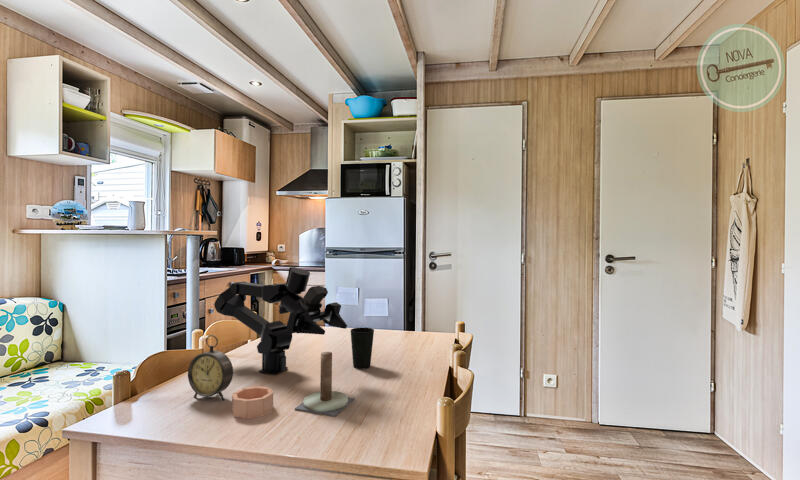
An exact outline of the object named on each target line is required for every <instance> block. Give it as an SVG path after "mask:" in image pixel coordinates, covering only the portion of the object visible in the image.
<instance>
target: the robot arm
mask: <svg viewBox="0 0 800 480" xmlns="http://www.w3.org/2000/svg"><path fill="white" fill-rule="evenodd" d="M310 275H311V272H310V271H309V270H307V269H302V268H297V267H296V266H294V267H293V266H292V267H291V266H290V267H289V268H288V274H287V279H286V282H285V283H283V282H282V283H275V284H273V283H272V284H263V283H262V284H261V283H254V282H253V283H252V282H247V281H237V282H235V281H234V282H232V283H231V284H230V286H229V287H228V288H227V289H226V290H225V289H224V291H222V292H221V293H220V294H219V295H218V297H217V298H216V299H215V301H214V304H213V306H214V309H215V311H216V312H217V313H218V314H220V315H223V316H227V317H231V318H232V317H233V318H234V319H236V320H237V321H239V322H241V324H244V325H245V326H246V327H248V328H249V329H250V330H252V331H253V332H255V333H256V334H257V335H259V337H260V341H259V343H258V344H257V345H256V349H257V354H261V356H262V357H261V358H262V360H261V369H259V370H258V373H262V374H267V375H268V374H269V375H279V374H280V373H283V372H285V371H286V370H288V368H289V367H288V366H287V356H286V351H287V350H290V347H291V344H292V341H293V334H308V335H309V334H311V335H325V334H326V330H325V328H323V327H321V326H320V325H319V324H318V323H317V322H320V321H323V323H324V324H326V325H327V326H329V327H333V328H339V329H345V330H346V329H347V327H348V324H347V323H346V322H345V319H343V317H342V316H341V315H340V312H341V309H342V305H341V304H340V303H338V302H336V301H335V302H330V303H328V304H326V305H325V307H324V311H321V310H322V309H321V308H322V307H323V303H321V302H322V301H323V300H324V299H325V298H326V297H327V295H328V294H329V293H328V292H329V291H328V288H327V287H324V286H322V285H315V286H311V287H309V288H308V290H307V286H308V284H309V283H308V282H309V279H310ZM306 290H307V291H306ZM304 292H305V294H304V296H301V294H302V293H304ZM247 296H249V297H255V298H260V299H262V301H263V302H266V303H268V304H276V303H279V305H278V313H279V314H280V315H283V314H287V313H288V314H289V315H288V319H287V323H286V324H285V323H283V321H280V320H275V321H272V322H271V321H270V322H269V321H268V320H267V319H265V318H264V317H263V316H261V315H260V314H258V313H256V312H255V311H253V310H252V309H250V308H249V307H248V306H246V305H245V301H246V300H247Z"/></svg>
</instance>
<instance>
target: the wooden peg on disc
mask: <svg viewBox="0 0 800 480" xmlns="http://www.w3.org/2000/svg"><path fill="white" fill-rule="evenodd" d="M319 382H320V386H319V387H320V388H319V389H320V391H317V392H316V391H315V392H313V393H309V394H308V395H306V396H305V397H304V398H303V401H302V403H303V405H304V407H305V408H306V409H308V410H311V411H315V412H330V411H336V410H339V409H342V408H344V407H345V406H346V405H347V404H348V397H349V396H348V395H347V394H345V393H343V392H341V391H337V390H333V389H332V388H333V385H332V384H333V383H332V382H333V352H331V351H323V352H321V353H320V381H319Z"/></svg>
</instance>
